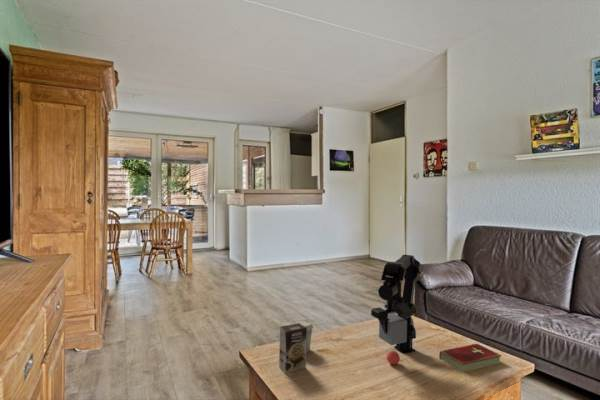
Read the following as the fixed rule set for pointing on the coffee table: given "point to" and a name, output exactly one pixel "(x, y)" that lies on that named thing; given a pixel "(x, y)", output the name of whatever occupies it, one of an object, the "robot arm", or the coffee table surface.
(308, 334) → the coffee cup
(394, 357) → the ball
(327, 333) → the coffee table surface
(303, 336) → the coffee box
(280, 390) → the coffee table surface
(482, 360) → the hardcover book
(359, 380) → the coffee table surface
